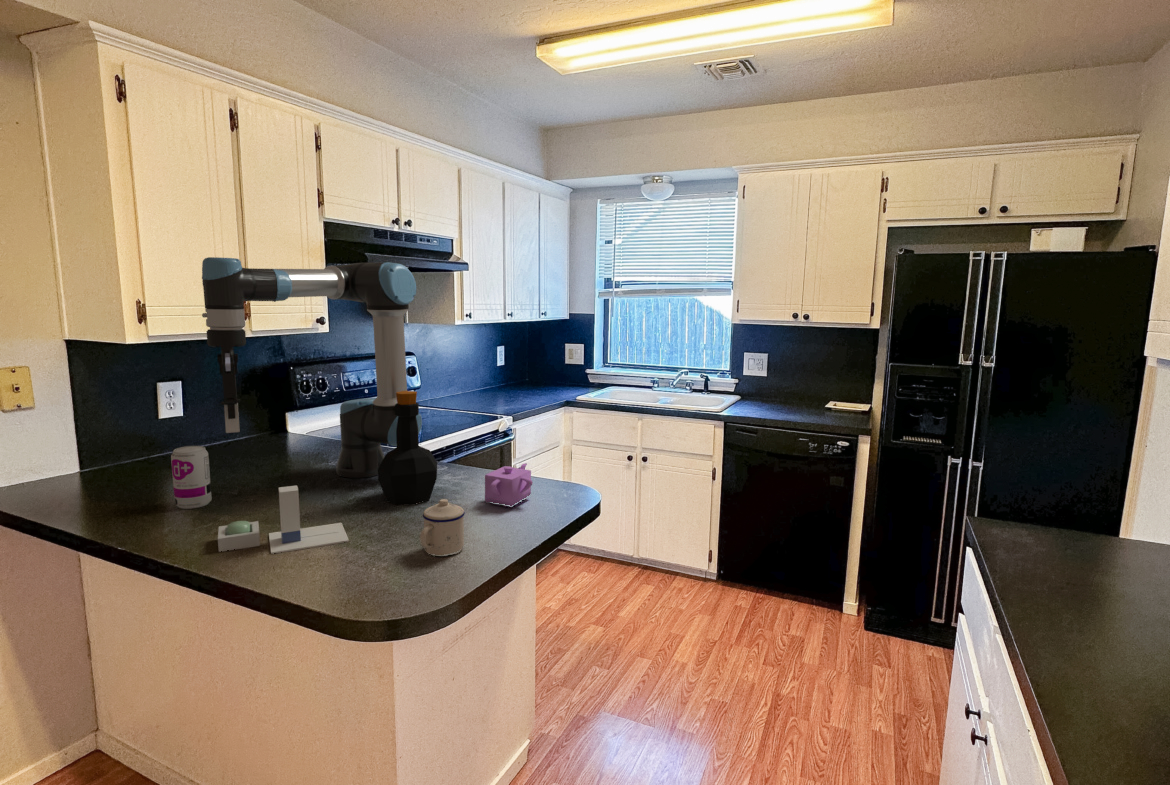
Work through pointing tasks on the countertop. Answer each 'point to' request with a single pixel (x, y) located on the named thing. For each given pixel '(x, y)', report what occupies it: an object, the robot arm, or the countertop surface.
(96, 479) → the countertop surface
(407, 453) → the bottle
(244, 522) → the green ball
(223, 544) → the housing
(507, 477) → the teapot
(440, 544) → the teacup with lid
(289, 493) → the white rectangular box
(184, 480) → the supplement can
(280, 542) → the slotted base plate
